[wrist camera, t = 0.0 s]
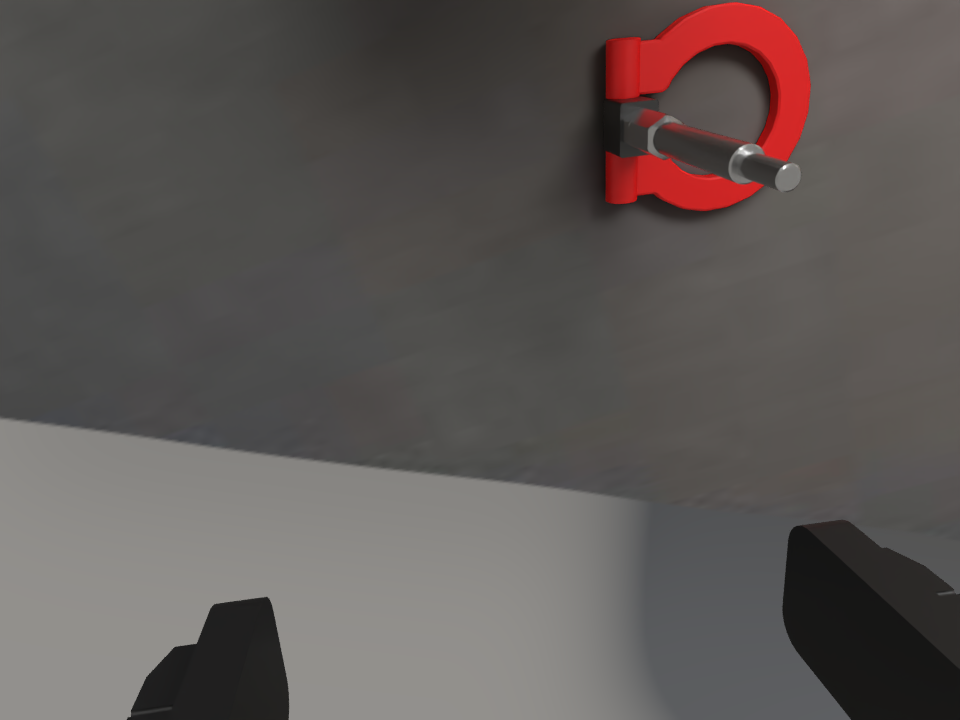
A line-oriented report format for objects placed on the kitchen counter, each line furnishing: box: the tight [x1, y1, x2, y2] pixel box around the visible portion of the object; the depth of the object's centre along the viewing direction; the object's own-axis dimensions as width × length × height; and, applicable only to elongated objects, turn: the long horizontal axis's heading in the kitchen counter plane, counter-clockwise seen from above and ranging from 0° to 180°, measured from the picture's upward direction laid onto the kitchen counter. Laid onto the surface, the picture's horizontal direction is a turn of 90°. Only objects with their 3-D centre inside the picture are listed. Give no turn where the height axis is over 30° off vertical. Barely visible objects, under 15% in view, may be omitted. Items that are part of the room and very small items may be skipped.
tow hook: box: [603, 2, 811, 211], centre depth 24 cm, size 8×13×9 cm
